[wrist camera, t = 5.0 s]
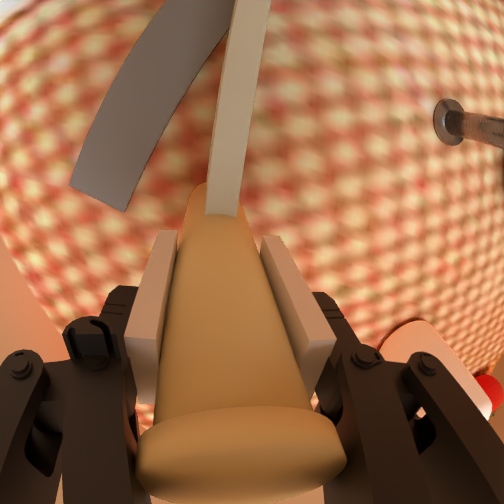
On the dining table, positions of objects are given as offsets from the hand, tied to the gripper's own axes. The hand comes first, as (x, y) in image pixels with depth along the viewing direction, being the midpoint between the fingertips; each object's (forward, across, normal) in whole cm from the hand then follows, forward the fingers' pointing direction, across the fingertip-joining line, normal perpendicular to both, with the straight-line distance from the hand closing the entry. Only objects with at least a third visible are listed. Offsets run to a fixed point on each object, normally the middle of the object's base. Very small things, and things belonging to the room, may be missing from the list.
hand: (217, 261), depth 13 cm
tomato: (+9, +55, -33) cm, 65 cm away
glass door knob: (+9, +20, +10) cm, 24 cm away
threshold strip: (+9, -4, +11) cm, 15 cm away
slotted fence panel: (+8, 0, +8) cm, 12 cm away
